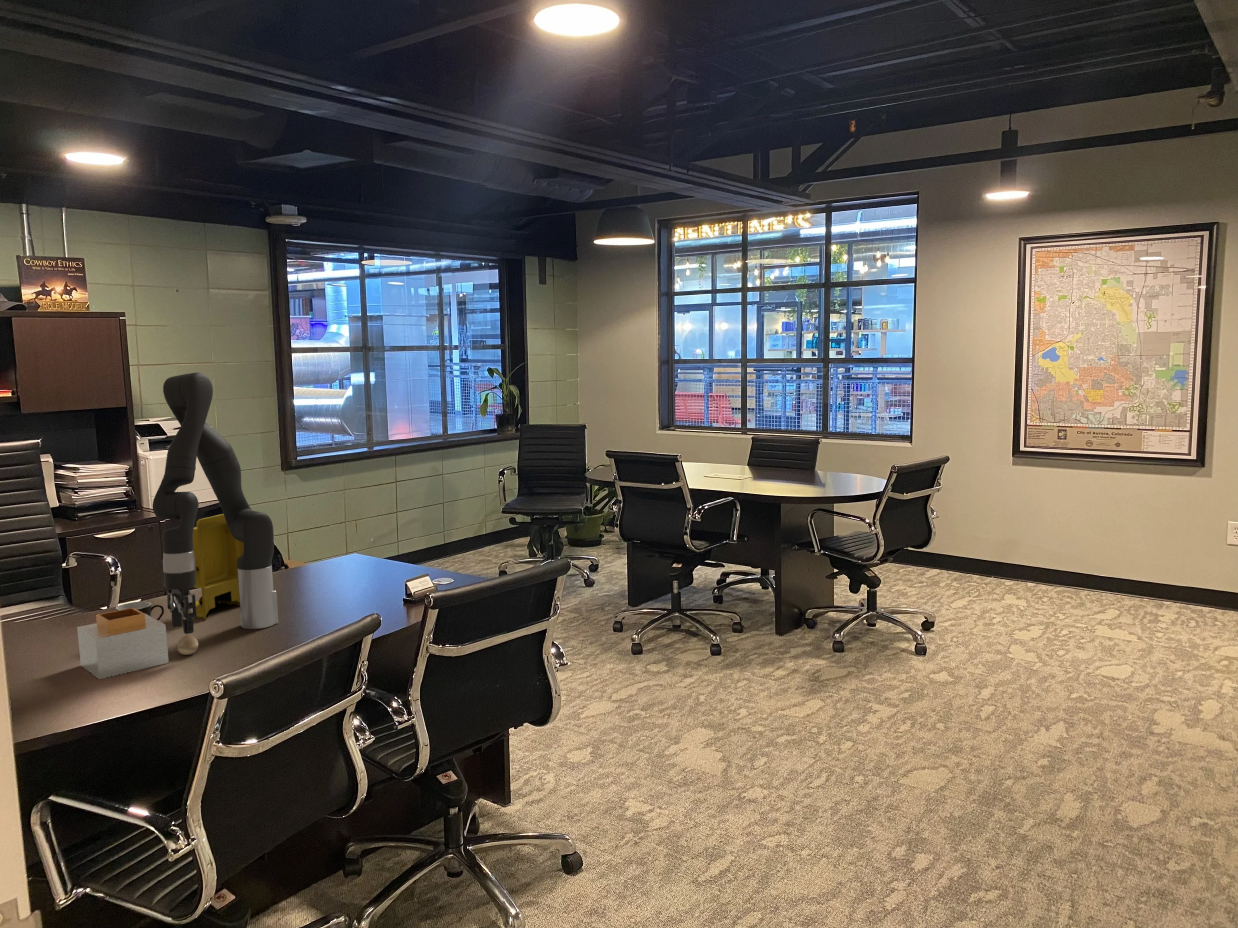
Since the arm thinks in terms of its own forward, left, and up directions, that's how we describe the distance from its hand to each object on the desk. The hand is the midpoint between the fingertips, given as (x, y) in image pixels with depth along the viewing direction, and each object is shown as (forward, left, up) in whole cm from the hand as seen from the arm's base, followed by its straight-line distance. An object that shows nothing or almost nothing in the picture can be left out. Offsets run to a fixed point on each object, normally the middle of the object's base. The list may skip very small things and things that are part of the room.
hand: (182, 629), depth 240 cm
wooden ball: (-1, +1, -7) cm, 7 cm away
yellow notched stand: (-23, -38, -7) cm, 45 cm away
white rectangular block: (+13, -4, -7) cm, 15 cm away
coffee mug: (+3, -21, -7) cm, 23 cm away
